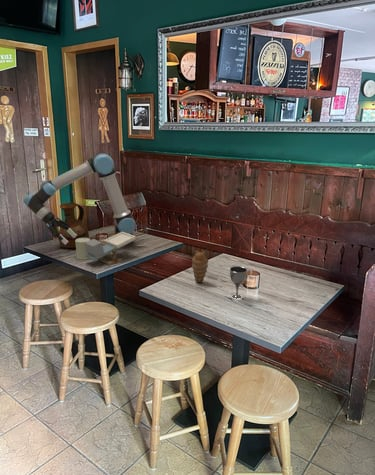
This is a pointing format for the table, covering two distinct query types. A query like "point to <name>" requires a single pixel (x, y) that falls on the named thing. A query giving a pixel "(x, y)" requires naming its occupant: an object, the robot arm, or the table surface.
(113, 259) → the pivot stand
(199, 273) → the brown tapered upright piece
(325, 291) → the table surface
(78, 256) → the can
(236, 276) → the wine glass
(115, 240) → the balance beam
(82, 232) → the ceramic pitcher
